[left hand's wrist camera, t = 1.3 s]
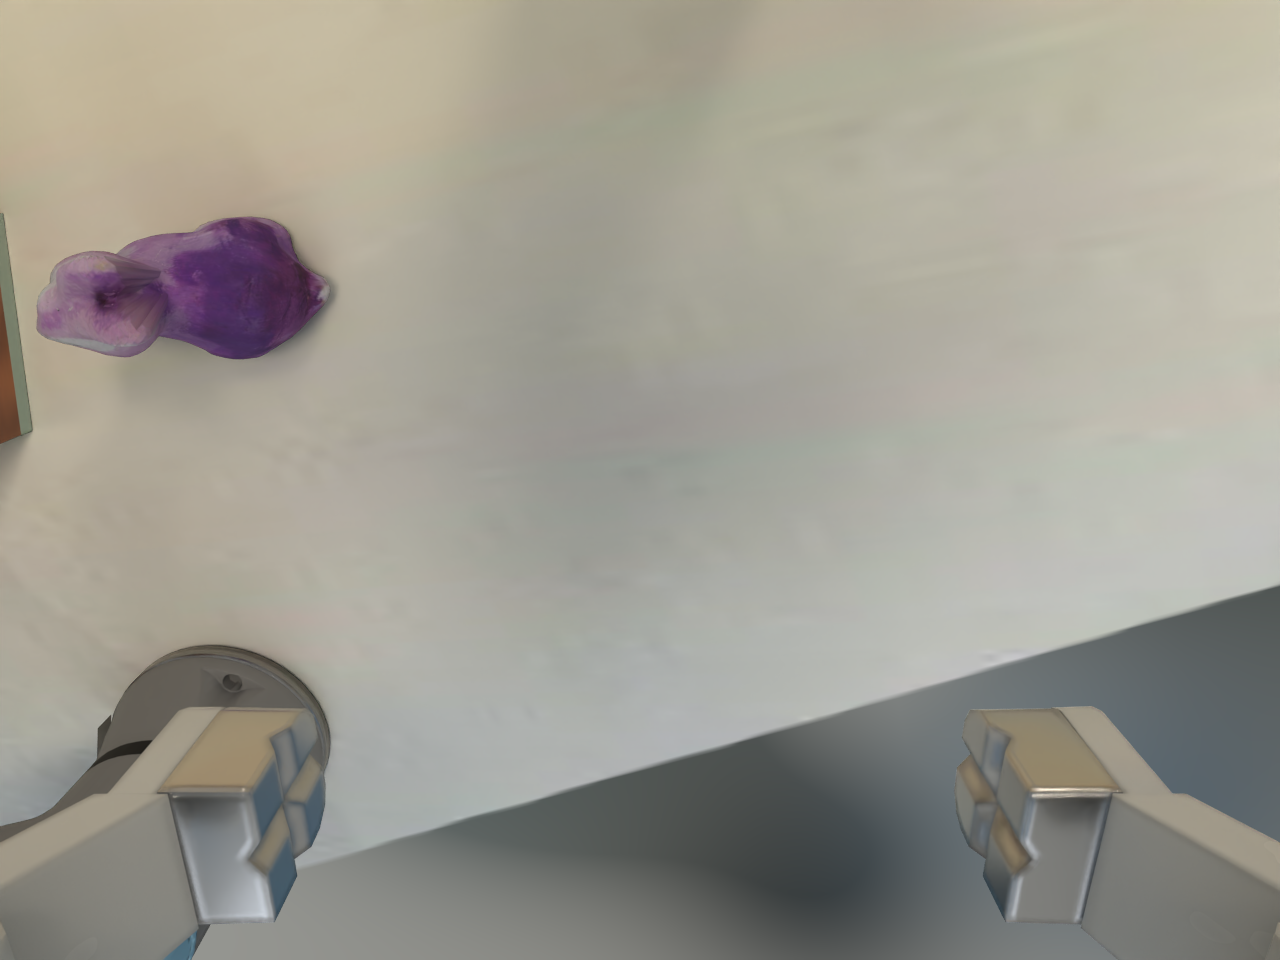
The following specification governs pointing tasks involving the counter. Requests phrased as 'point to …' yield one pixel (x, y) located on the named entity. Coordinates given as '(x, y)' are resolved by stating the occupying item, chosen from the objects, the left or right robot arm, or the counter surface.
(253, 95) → the counter surface
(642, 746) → the counter surface
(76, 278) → the figurine
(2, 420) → the cabinet
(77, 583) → the counter surface
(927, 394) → the counter surface
